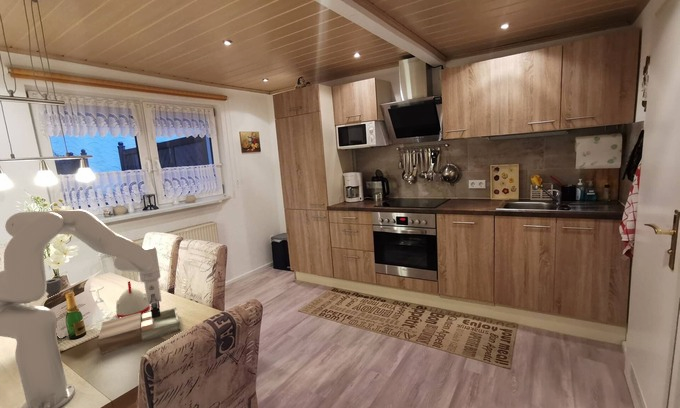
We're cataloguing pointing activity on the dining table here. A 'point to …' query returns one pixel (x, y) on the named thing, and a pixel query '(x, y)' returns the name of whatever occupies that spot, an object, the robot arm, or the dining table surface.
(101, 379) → the dining table surface
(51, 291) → the candle holder
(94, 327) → the dining table surface
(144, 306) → the white dome with stick
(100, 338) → the stepped long block
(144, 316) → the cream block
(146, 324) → the salmon pink block
